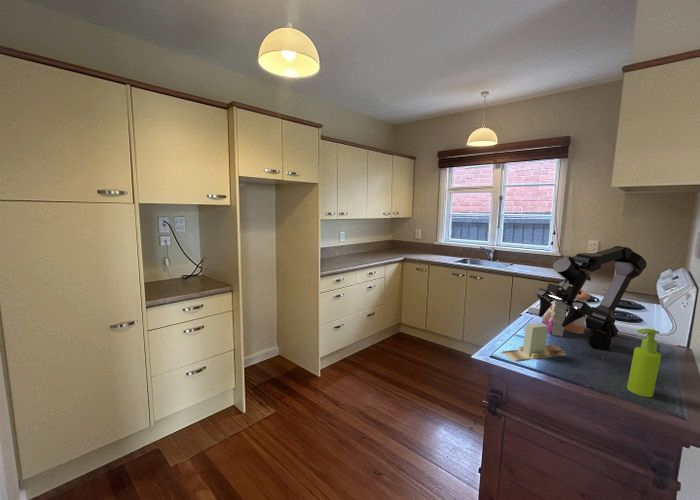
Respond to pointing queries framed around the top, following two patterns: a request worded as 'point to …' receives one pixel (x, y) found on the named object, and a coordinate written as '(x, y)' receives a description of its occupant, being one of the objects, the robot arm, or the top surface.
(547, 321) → the candy bar box
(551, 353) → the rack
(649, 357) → the soap dispenser
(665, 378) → the top surface
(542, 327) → the pale green block
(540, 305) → the robot arm
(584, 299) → the salt shaker
